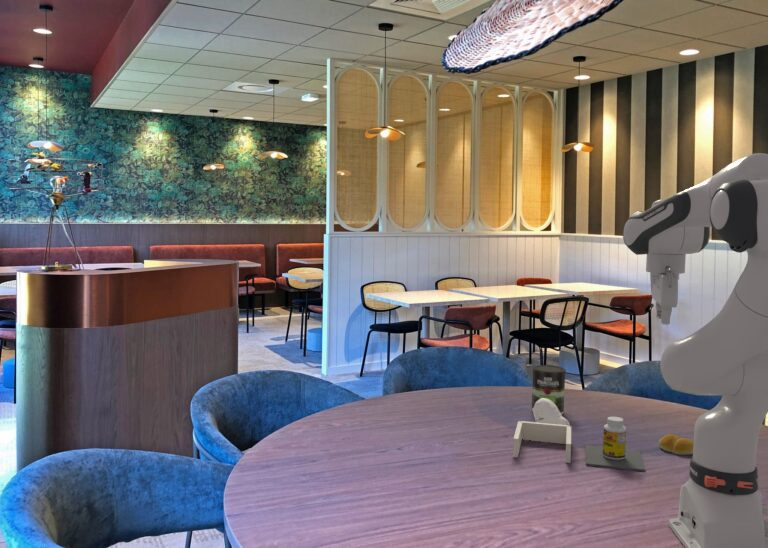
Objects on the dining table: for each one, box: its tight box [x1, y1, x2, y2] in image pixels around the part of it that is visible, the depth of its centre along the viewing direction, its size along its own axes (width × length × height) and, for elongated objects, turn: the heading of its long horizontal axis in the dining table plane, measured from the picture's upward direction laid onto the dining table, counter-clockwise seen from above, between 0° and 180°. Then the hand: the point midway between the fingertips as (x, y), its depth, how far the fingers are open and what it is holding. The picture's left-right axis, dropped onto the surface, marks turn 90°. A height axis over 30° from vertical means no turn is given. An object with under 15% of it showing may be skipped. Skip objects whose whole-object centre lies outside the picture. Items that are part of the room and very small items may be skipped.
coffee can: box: [531, 364, 567, 415], centre depth 215 cm, size 10×10×14 cm
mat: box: [584, 445, 646, 472], centre depth 174 cm, size 14×14×1 cm
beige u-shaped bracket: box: [512, 420, 572, 464], centre depth 180 cm, size 16×14×5 cm
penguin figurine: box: [532, 398, 571, 426], centre depth 197 cm, size 6×8×12 cm
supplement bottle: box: [602, 416, 627, 460], centre depth 173 cm, size 6×6×10 cm
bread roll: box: [658, 433, 694, 456], centre depth 181 cm, size 8×9×4 cm
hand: (662, 321), depth 165 cm, fingers open, 8 cm apart
